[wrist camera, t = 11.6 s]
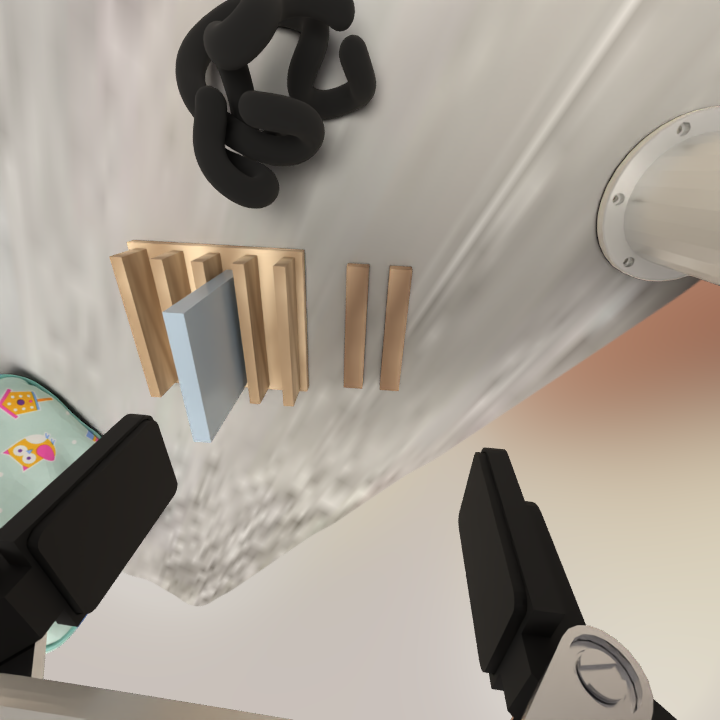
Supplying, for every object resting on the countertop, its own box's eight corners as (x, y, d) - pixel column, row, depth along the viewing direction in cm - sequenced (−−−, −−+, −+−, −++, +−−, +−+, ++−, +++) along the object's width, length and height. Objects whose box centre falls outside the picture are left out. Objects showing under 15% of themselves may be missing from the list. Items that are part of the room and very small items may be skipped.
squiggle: (307, 87, 31) (235, 239, 30) (204, -58, 22) (100, 146, 21) (417, 59, 24) (328, 255, 23) (327, -165, 16) (183, 128, 15)
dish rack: (304, 249, 32) (293, 261, 28) (308, 386, 39) (300, 410, 35) (133, 240, 32) (99, 249, 28) (169, 377, 40) (145, 400, 36)
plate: (241, 270, 32) (183, 313, 22) (253, 372, 37) (211, 442, 28) (226, 269, 32) (162, 312, 22) (240, 371, 37) (193, 441, 28)
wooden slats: (411, 266, 32) (412, 270, 31) (397, 385, 38) (398, 391, 37) (347, 263, 32) (346, 266, 31) (344, 381, 39) (343, 387, 37)
